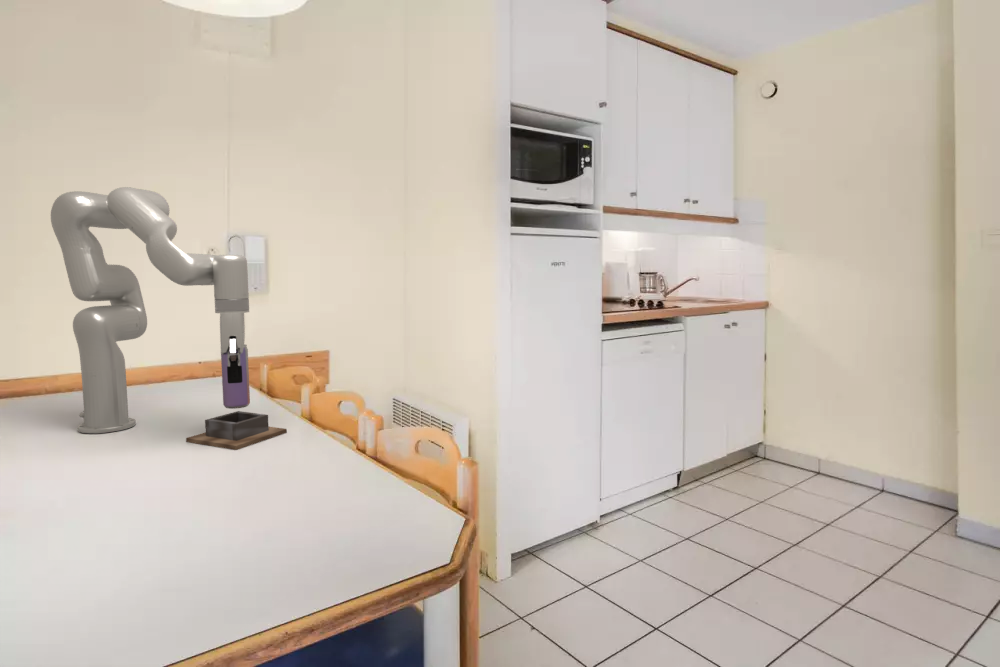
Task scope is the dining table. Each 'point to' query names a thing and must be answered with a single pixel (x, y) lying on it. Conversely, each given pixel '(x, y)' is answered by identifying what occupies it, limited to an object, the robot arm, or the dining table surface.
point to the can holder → (236, 430)
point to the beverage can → (236, 392)
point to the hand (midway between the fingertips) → (235, 379)
